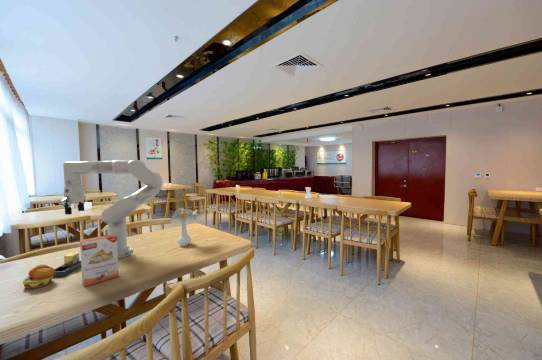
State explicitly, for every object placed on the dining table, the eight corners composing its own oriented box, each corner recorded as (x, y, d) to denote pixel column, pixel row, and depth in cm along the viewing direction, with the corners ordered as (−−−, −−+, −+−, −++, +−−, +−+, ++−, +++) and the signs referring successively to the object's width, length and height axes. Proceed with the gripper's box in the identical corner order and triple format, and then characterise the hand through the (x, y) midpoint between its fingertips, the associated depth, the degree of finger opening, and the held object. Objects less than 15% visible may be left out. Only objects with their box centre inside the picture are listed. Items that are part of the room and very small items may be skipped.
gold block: (80, 264, 133) (79, 252, 132) (74, 268, 128) (73, 255, 128) (70, 265, 132) (69, 252, 132) (64, 268, 128) (63, 256, 127)
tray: (84, 264, 134) (83, 260, 134) (64, 276, 120) (63, 271, 120) (70, 265, 134) (70, 260, 133) (48, 277, 120) (48, 272, 119)
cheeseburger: (35, 279, 117) (39, 259, 117) (58, 283, 118) (62, 264, 118) (15, 290, 107) (19, 268, 107) (40, 294, 108) (45, 273, 108)
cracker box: (84, 287, 109) (81, 242, 108) (82, 282, 114) (79, 239, 112) (119, 276, 119) (117, 235, 118) (116, 273, 123) (114, 233, 122)
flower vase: (201, 242, 170) (200, 207, 168) (179, 250, 155) (178, 212, 153) (189, 239, 177) (188, 206, 175) (167, 246, 162) (165, 210, 160)
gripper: (68, 184, 129) (70, 215, 130) (90, 181, 146) (92, 209, 147) (53, 184, 128) (55, 216, 130) (77, 181, 146) (79, 209, 147)
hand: (75, 212), depth 138 cm, fingers open, 9 cm apart
